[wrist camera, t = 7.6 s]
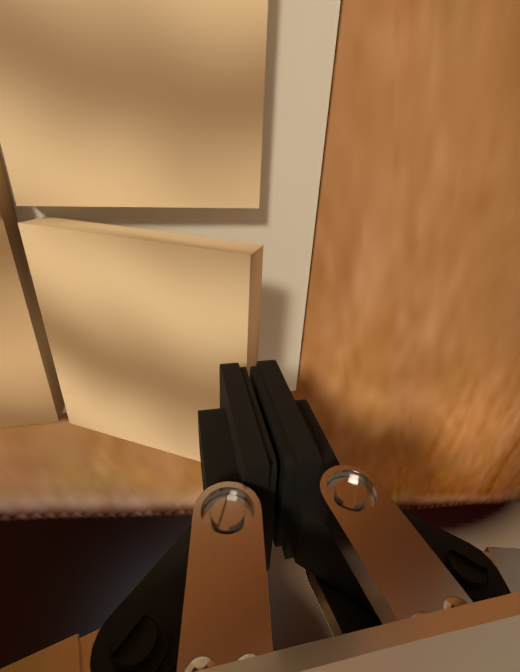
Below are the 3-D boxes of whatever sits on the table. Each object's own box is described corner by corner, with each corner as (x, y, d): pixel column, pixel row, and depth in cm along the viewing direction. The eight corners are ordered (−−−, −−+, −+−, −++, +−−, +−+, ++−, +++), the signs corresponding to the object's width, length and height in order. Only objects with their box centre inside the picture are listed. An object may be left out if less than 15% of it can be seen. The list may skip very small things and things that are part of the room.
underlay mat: (-598, -266, 7) (-635, -285, 7) (346, -87, 11) (351, -93, 11) (-153, 428, 16) (-160, 434, 16) (293, 386, 20) (295, 390, 20)
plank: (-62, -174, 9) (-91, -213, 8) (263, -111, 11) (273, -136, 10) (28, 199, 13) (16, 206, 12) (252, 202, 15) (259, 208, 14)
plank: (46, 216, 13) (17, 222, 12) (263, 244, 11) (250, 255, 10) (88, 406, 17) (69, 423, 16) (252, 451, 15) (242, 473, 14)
